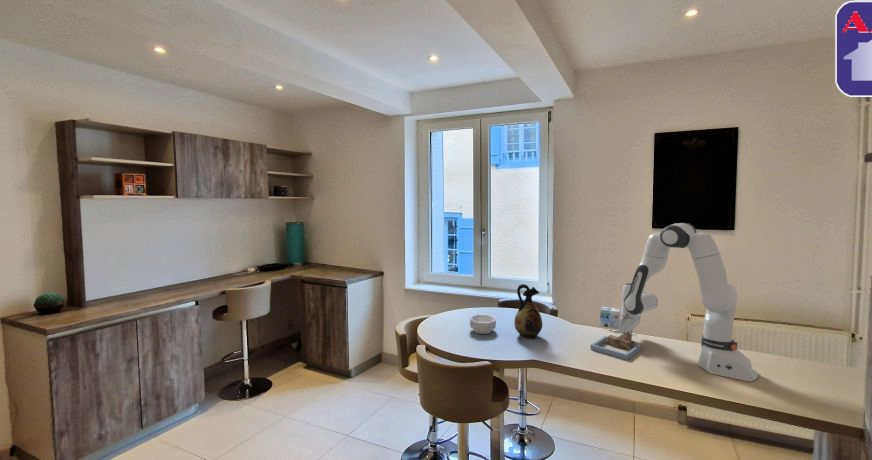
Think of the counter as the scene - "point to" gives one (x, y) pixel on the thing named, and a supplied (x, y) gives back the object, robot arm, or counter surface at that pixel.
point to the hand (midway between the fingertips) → (629, 336)
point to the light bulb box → (609, 317)
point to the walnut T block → (621, 341)
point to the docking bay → (596, 347)
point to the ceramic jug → (528, 315)
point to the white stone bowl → (482, 323)
